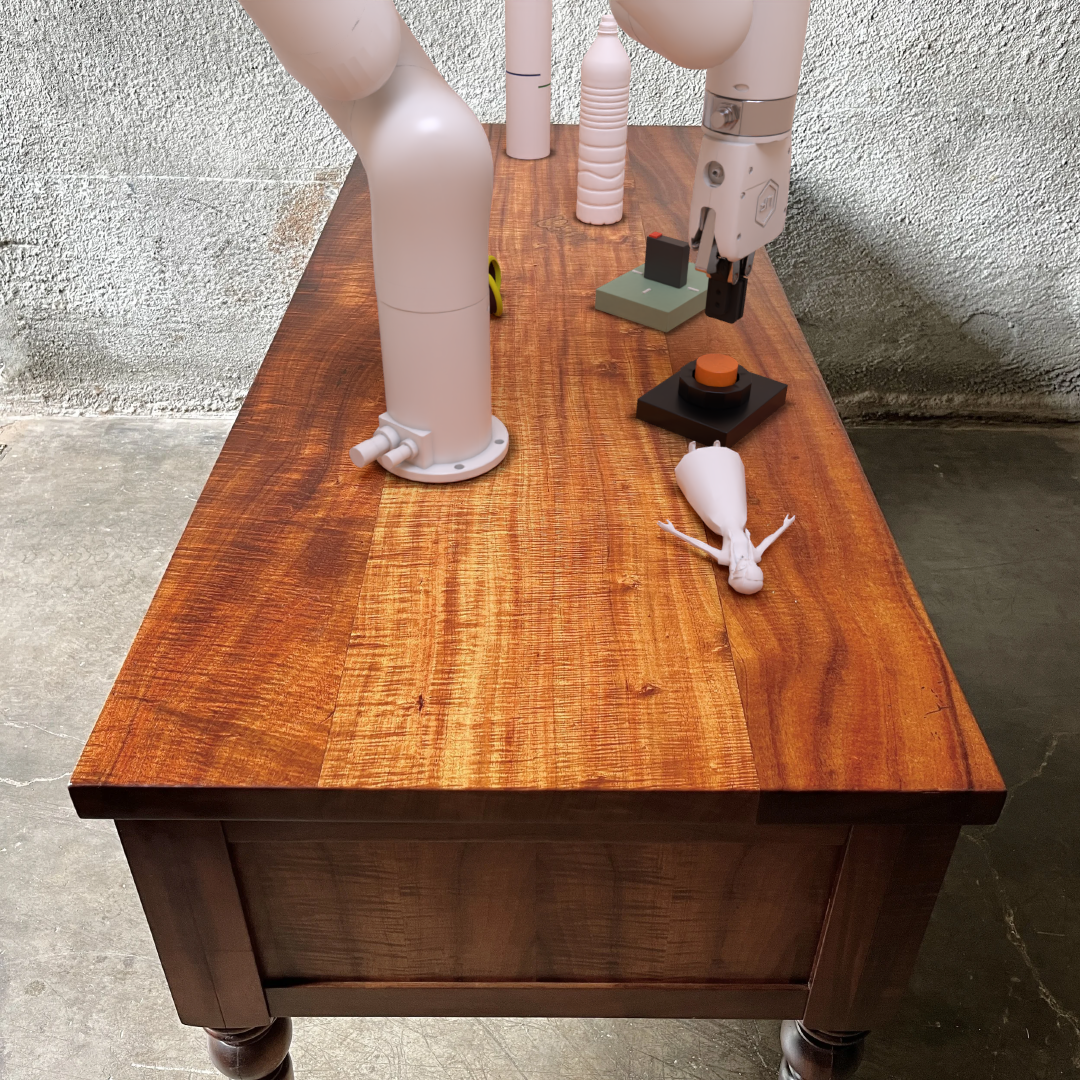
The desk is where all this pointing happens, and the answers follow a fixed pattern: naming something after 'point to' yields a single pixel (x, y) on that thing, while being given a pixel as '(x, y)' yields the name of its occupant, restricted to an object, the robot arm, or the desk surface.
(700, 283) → the knob panel
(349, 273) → the desk surface
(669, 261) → the knob
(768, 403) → the button housing
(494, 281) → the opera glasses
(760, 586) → the woman figurine
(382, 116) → the robot arm
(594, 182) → the water bottle
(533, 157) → the cylindrical container
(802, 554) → the desk surface
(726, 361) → the button
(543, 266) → the desk surface
